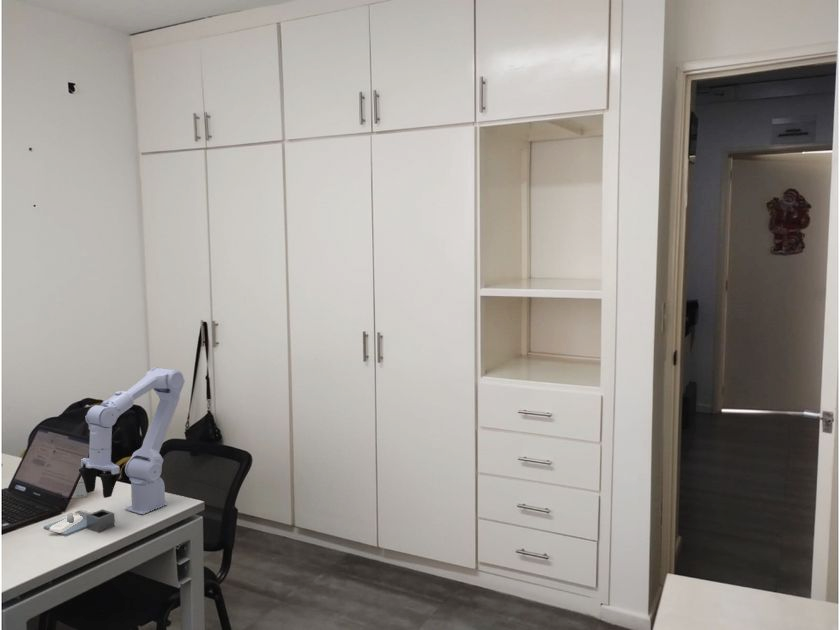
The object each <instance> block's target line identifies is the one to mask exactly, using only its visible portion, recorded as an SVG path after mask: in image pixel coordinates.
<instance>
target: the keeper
mask: <svg viewBox="0 0 840 630" xmlns="http://www.w3.org/2000/svg"><path fill="white" fill-rule="evenodd" d="M91 513H92V512H89V511H86V510H84V509H80V510H78V515H80V516H82V517H83V519H82V520H81V521H80V522H78V523H77V524H75V525H73V526H72V527H70V528H69V529H67V530H66V531H64V532H61V536H64V537H68V536H71V535H73V534H75V533H78V532H81V531H83V530H86V529H87V515H89V514H91ZM73 515H74V513H72V512H69V513H67V514H66V516H67V517H65V518H62V519H60V520H57V521H54V522H51V523H49V524H46V525H44V526H43V529H44V530H47V531H49V529H50V527H51V526H52V525H54V524H56V523H58V522H60V521H62V520H64V519H66V518H67V522H69V523H73V522H74V517H73Z"/></svg>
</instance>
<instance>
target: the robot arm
mask: <svg viewBox="0 0 840 630" xmlns="http://www.w3.org/2000/svg"><path fill="white" fill-rule="evenodd" d="M185 383H186V381H185V378H184V375H183V373H182V371H180V370H179V369H170V368H161V367H158V366H154V367H152V368H151V369H150V370H148V371H147V372H146V373H145V376H144V377H142V378H141V379H140V380H138V382H136V383H135V384H134V385H133V386H131V387H129V389H127V390H126V391H125V390H120V391H119V390H118V391H116V392H114V395H112V396H111V397H110V398H108V399H107V400H103V401H102V402H101V404H100V405H99V404H98V405H97V404H96V405H93V406H91V407H90V408H89V409H88V411H87V413H86V415H85V422H86V423H87V425H88V430H89V450H88V452H89V453H88V457H87V458H83V459H81V466H83V468H80V469H79V473H80V474H81V476H82V478H83V481H84V484H85V488H86V492H87V494H88V493H91V492H95V488H96V481H97V476H98V473H99V470H100V471H103V473H100V474H99V478H100V481H101V485H102V496H103V498H104V499H106V498H109V497H112V495H113V492H114V489H115V486H116V483H117V482H118V479H119V478H120V476H122V475H121V474H122V472H121V471H120V466H119V465H117V464H115V463H114V462H113V461H112V435H113V434H112V432H113V426H114V425H115V424H116V423H117V420H118V418H119V417H120V416H121V415H122V414H124V413H125V412H126V411H128V410H129V409H130V408H132V407H133V406H134V401H136V400H137V399H138V398H140V397H142V396H143V395H145V394H147V393H148V392H151V391H154V392H155V394H156V395H157V396H158V398H159V402H158V404H157V407H156V409H155V411H154V414H153V417H152V420H151V422H150V424H149V427H148V430H147V432H146V435H145V437H144V440H143V443H142V445H141V447H140V448H139V449H137V450H135V451H134V452H133V453H132V455H131V457H130V459H129V460H128V461H127V462H126V463H125V467H124V472H125V474H126V476H127V477H128V478H129V480H128V481H130V483H131V485H130V487H131V488H130V489H131V491H130V492H131V495H130V496H131V505H129V506H126V507H125V510H126V511H127V512H128V511H129V512H132V513H135V514H138V515H141V514H143V515H146V514H148V513H151V512H153V511H155V510H154V509H156V510H157V508H158V509H160V508H159V507H161V508H163V507H165V506H164V505H166V506H167V504H168V503H167V502H166V494H165V493H166V492H165V491H166V490H165V489H166V488H165V481H164V480H163V478H162V477H161V474H162V471H163V470H162V467H163V463H164V458H163V457H162V455H161V454H160V451H161V448H162V446H163V443H164V441H165V438H166V437H167V436H166V435H167V433H168V430H169V427H170V425H171V422H172V419H173V418H174V417H173V416H174V414H175V412H176V409H177V407H178V404H179V402H180V397H181V393H182V391H183V390H182V389H183V387H184V384H185ZM162 506H163V507H162ZM152 510H153V511H152ZM150 511H151V512H150ZM145 513H146V514H145Z"/></svg>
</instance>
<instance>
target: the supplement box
mask: <svg viewBox="0 0 840 630" xmlns="http://www.w3.org/2000/svg"><path fill="white" fill-rule="evenodd" d="M86 497H88V493H87V492H86V488H85V484H84V481H83V478H82V476H81V478H80V481H79V483H78V485H77V487H76V490H75V492H74V494H73V496H72V499H79V498H81V499H82V498H86Z"/></svg>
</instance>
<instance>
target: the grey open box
mask: <svg viewBox="0 0 840 630" xmlns="http://www.w3.org/2000/svg"><path fill="white" fill-rule="evenodd" d="M90 513H91V514H89V515H87V528H86V529H87V530H90V531H92V532H96V533H101V532H103V531H106V530H110V529H111V528H113V527H115V523H116V522H115V512H112V511H109V510H106V509H103V508H102V509H99V510H97V511H94V512H90Z"/></svg>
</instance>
